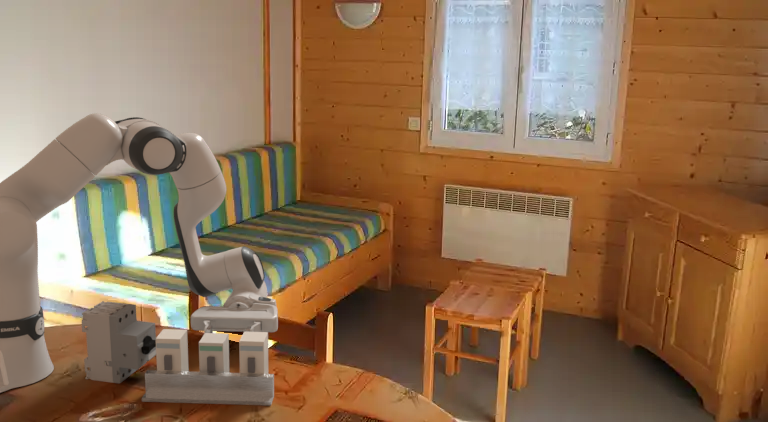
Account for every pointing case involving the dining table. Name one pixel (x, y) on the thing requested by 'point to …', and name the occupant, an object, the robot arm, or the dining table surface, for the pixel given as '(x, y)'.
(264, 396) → the rail
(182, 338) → the module left
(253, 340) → the module right
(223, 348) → the loose module
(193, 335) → the dining table surface
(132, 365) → the circuit breaker
